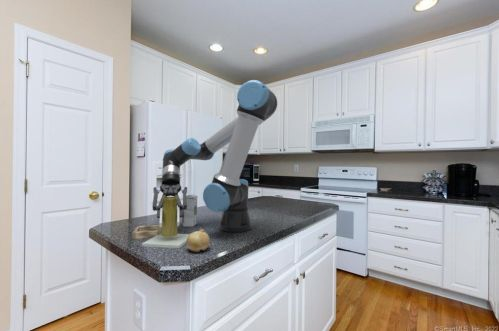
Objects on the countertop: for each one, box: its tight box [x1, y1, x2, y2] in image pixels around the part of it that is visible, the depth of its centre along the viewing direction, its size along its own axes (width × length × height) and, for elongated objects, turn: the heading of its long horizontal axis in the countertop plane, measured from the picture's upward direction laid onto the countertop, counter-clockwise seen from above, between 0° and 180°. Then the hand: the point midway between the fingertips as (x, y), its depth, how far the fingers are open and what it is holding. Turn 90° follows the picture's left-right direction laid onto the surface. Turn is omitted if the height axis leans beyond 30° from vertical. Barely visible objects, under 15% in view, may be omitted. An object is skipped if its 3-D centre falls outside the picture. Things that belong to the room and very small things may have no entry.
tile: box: [141, 233, 191, 249], centre depth 91 cm, size 14×14×1 cm
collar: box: [131, 224, 162, 240], centre depth 99 cm, size 10×10×2 cm
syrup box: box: [181, 194, 198, 228], centre depth 116 cm, size 6×6×14 cm
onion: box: [185, 227, 211, 253], centre depth 82 cm, size 8×8×7 cm
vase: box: [161, 196, 179, 237], centre depth 91 cm, size 6×6×14 cm
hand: (169, 224), depth 87 cm, fingers closed on vase, 5 cm apart
